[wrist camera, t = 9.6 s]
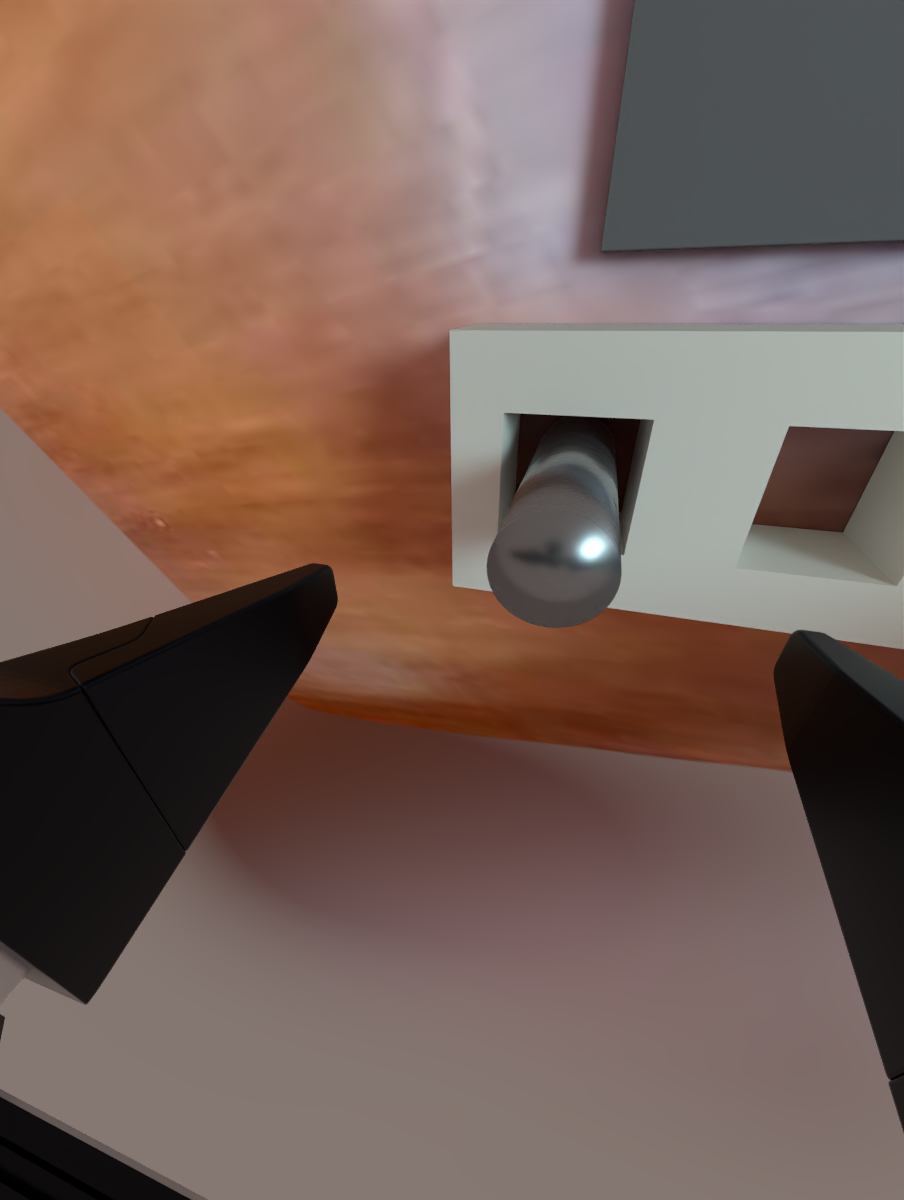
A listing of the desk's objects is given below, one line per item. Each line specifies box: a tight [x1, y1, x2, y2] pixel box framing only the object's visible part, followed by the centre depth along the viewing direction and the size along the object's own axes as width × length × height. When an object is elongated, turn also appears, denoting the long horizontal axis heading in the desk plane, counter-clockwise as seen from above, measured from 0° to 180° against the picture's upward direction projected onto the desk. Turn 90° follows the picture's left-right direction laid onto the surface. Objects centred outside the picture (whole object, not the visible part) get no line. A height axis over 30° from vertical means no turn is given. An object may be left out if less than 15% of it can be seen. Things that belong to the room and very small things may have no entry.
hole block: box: [450, 324, 904, 649], centre depth 16 cm, size 16×9×4 cm, turn 90°
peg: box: [487, 416, 622, 628], centre depth 14 cm, size 3×3×10 cm
